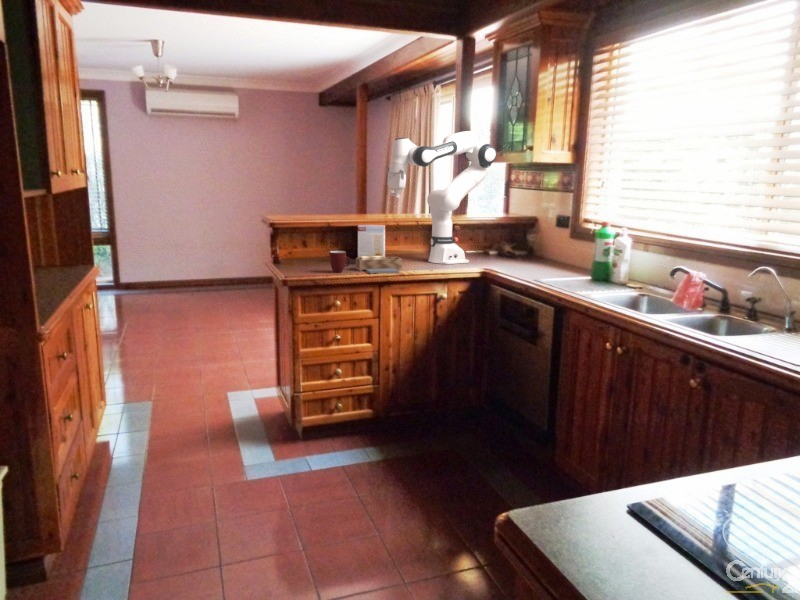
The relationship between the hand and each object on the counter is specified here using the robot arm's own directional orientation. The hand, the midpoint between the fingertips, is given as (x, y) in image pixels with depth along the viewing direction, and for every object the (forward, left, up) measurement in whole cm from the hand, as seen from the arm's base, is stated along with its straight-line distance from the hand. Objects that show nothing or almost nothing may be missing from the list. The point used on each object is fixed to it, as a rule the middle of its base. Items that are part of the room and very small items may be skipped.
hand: (394, 196), depth 318 cm
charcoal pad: (+13, +20, -36) cm, 43 cm away
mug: (+33, +15, -36) cm, 51 cm away
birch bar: (+15, +11, -32) cm, 37 cm away
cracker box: (+11, -6, -36) cm, 38 cm away
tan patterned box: (+12, +11, -36) cm, 39 cm away
